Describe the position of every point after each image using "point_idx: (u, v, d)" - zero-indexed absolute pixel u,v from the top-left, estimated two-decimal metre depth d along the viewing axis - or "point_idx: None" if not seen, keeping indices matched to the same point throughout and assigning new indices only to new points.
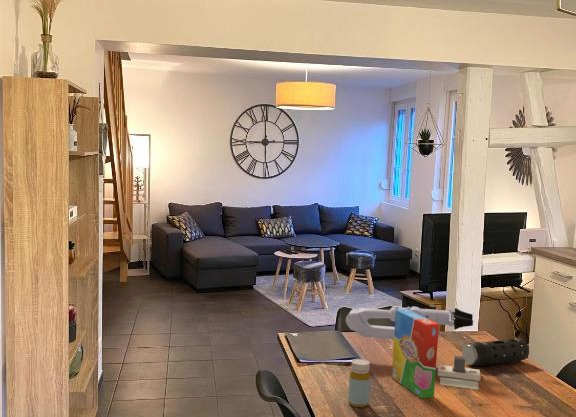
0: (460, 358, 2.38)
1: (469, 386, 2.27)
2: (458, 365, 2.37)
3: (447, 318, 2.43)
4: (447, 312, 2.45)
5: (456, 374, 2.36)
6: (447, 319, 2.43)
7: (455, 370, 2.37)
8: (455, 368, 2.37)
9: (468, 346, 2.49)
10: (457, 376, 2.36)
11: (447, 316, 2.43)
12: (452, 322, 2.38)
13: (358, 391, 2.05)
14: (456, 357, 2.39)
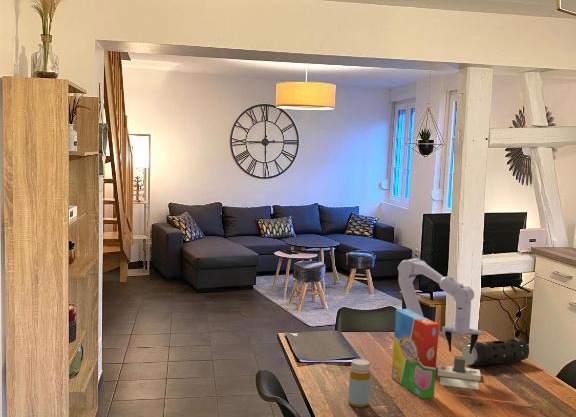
0: (460, 358, 2.38)
1: (469, 386, 2.27)
2: (458, 365, 2.37)
3: (454, 327, 2.37)
4: (459, 328, 2.35)
5: (456, 374, 2.36)
6: (454, 326, 2.38)
7: (455, 370, 2.37)
8: (455, 368, 2.37)
9: (468, 346, 2.49)
10: (457, 376, 2.36)
11: (455, 327, 2.36)
12: (442, 330, 2.39)
13: (358, 391, 2.05)
14: (456, 357, 2.39)
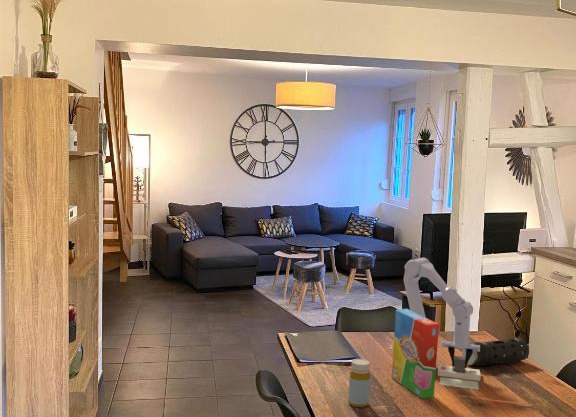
0: (460, 358, 2.38)
1: (469, 386, 2.27)
2: (458, 365, 2.37)
3: (453, 342, 2.38)
4: (458, 343, 2.35)
5: (456, 374, 2.36)
6: (453, 341, 2.38)
7: (455, 370, 2.37)
8: (455, 368, 2.37)
9: None
10: (457, 376, 2.36)
11: (454, 342, 2.37)
12: (441, 345, 2.39)
13: (358, 391, 2.05)
14: (456, 357, 2.39)
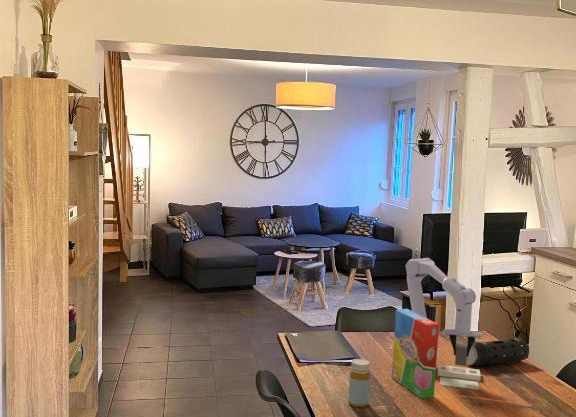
0: (462, 346, 2.32)
1: (469, 386, 2.27)
2: (460, 353, 2.30)
3: (455, 329, 2.31)
4: (459, 331, 2.29)
5: (456, 374, 2.36)
6: (454, 329, 2.32)
7: (457, 358, 2.31)
8: (457, 356, 2.31)
9: None
10: (457, 376, 2.36)
11: (455, 330, 2.31)
12: None
13: (358, 391, 2.05)
14: (458, 345, 2.32)
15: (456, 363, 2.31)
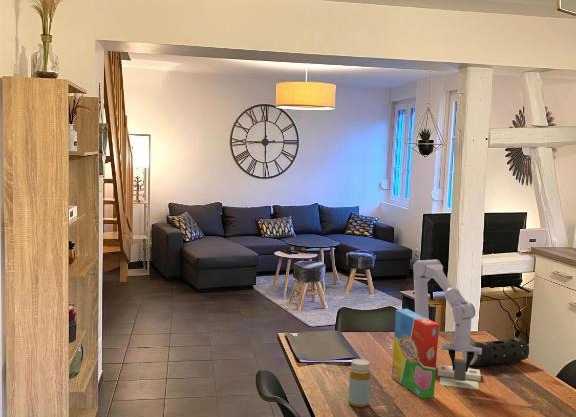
0: (461, 361, 2.29)
1: (469, 386, 2.27)
2: (459, 368, 2.28)
3: (454, 344, 2.29)
4: (458, 346, 2.27)
5: None
6: (454, 344, 2.29)
7: (456, 374, 2.29)
8: (456, 371, 2.28)
9: None
10: None
11: (454, 345, 2.28)
12: None
13: (358, 391, 2.05)
14: (457, 360, 2.30)
15: (455, 378, 2.29)
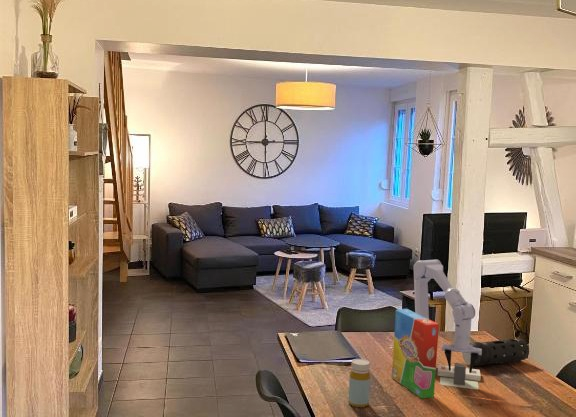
0: (460, 365, 2.29)
1: (469, 386, 2.27)
2: (459, 372, 2.28)
3: (454, 345, 2.29)
4: (458, 347, 2.27)
5: None
6: (454, 344, 2.29)
7: (455, 378, 2.29)
8: (455, 376, 2.29)
9: None
10: None
11: (454, 345, 2.28)
12: None
13: (358, 391, 2.05)
14: (456, 364, 2.30)
15: (455, 382, 2.29)
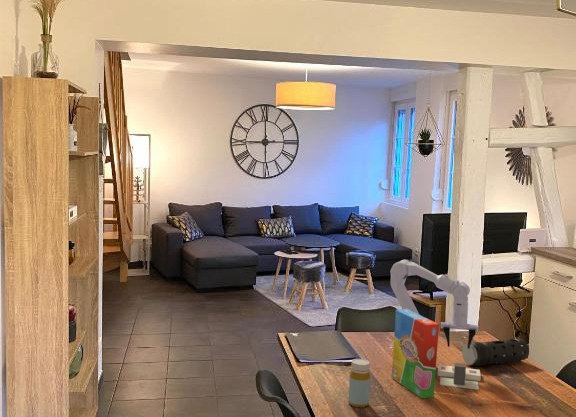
0: (460, 365, 2.29)
1: (469, 386, 2.27)
2: (459, 372, 2.28)
3: (452, 322, 2.42)
4: (456, 324, 2.40)
5: None
6: (452, 322, 2.42)
7: (455, 378, 2.29)
8: (455, 376, 2.29)
9: None
10: None
11: (453, 323, 2.41)
12: None
13: (358, 391, 2.05)
14: (456, 364, 2.30)
15: (455, 382, 2.29)
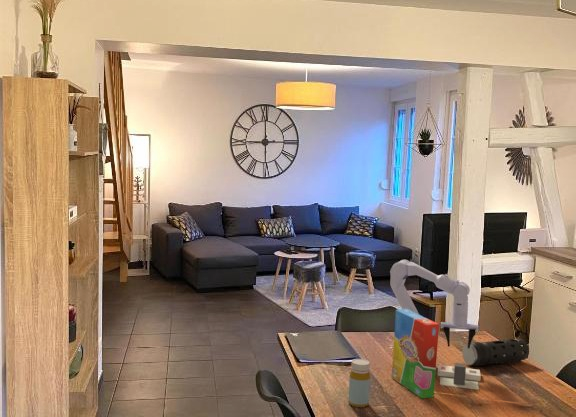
0: (460, 365, 2.29)
1: (469, 386, 2.27)
2: (459, 372, 2.28)
3: (452, 322, 2.42)
4: (456, 323, 2.40)
5: None
6: (452, 322, 2.43)
7: (455, 378, 2.29)
8: (455, 376, 2.29)
9: None
10: None
11: (453, 322, 2.41)
12: None
13: (358, 391, 2.05)
14: (456, 364, 2.30)
15: (455, 382, 2.29)
